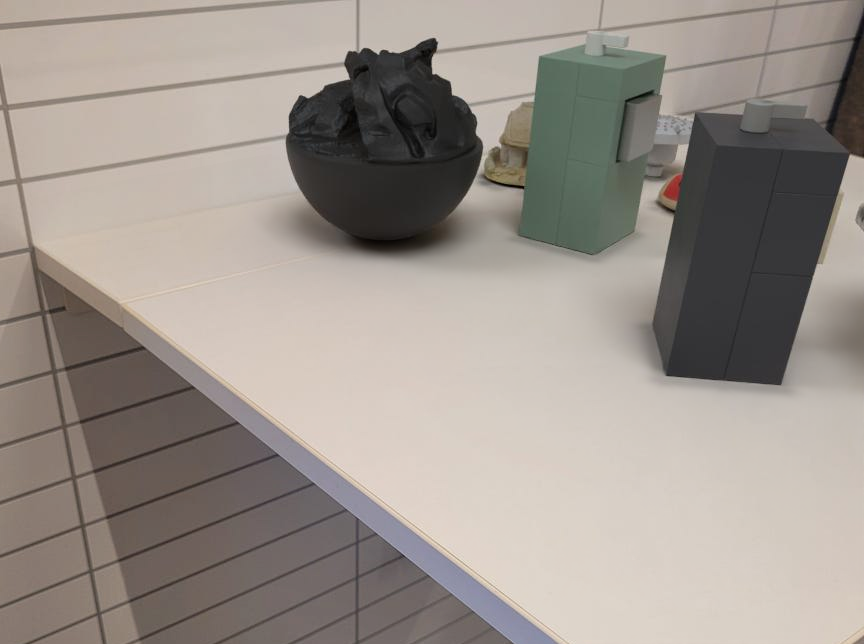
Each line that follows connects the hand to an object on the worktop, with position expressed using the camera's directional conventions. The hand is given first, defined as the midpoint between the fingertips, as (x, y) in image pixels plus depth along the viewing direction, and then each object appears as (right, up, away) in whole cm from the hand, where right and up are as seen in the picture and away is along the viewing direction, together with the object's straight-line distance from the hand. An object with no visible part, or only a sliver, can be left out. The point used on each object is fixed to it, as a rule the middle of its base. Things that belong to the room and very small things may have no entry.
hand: (862, 219), depth 72 cm
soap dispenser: (-15, +7, +31) cm, 36 cm away
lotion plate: (-4, -2, +2) cm, 5 cm away
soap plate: (-11, +13, +24) cm, 29 cm away
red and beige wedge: (0, +12, +39) cm, 41 cm away
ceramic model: (-17, +18, +47) cm, 53 cm away
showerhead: (-1, +20, +51) cm, 55 cm away
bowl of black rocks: (-37, +6, +29) cm, 47 cm away
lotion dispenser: (-9, -9, +7) cm, 15 cm away
